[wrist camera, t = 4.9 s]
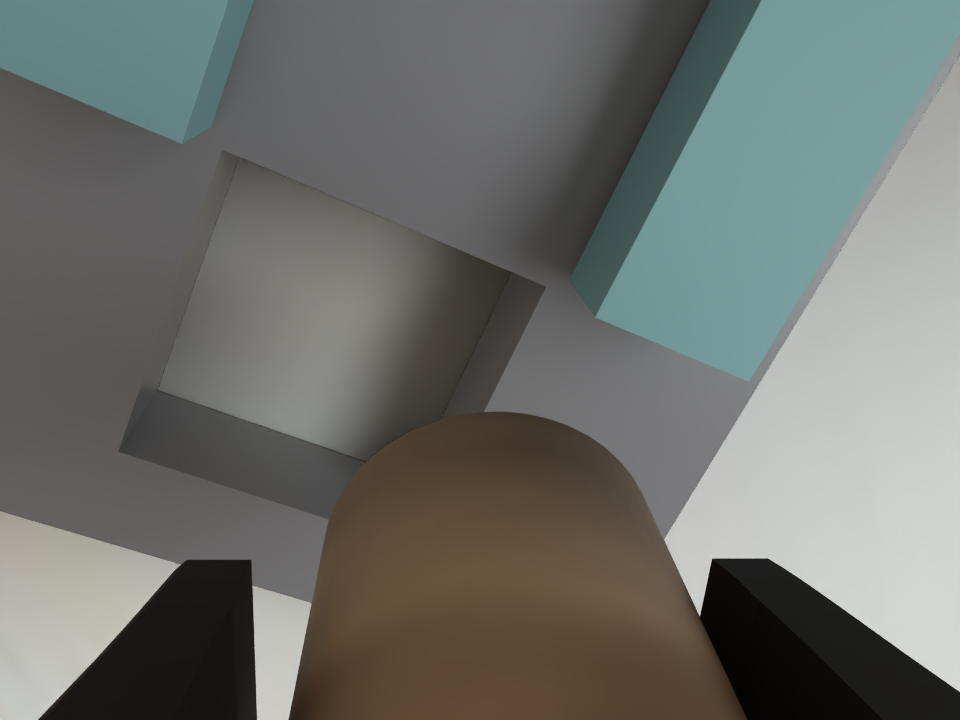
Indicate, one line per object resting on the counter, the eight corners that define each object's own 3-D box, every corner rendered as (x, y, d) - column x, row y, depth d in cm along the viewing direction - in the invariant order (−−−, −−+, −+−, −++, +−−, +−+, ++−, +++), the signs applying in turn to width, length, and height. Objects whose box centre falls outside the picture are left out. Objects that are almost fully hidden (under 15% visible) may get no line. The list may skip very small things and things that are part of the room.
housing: (1040, -242, 14) (1174, -297, 11) (554, 601, 19) (577, 681, 17) (199, -847, 10) (143, -1104, 8) (-100, 392, 16) (-184, 456, 13)
